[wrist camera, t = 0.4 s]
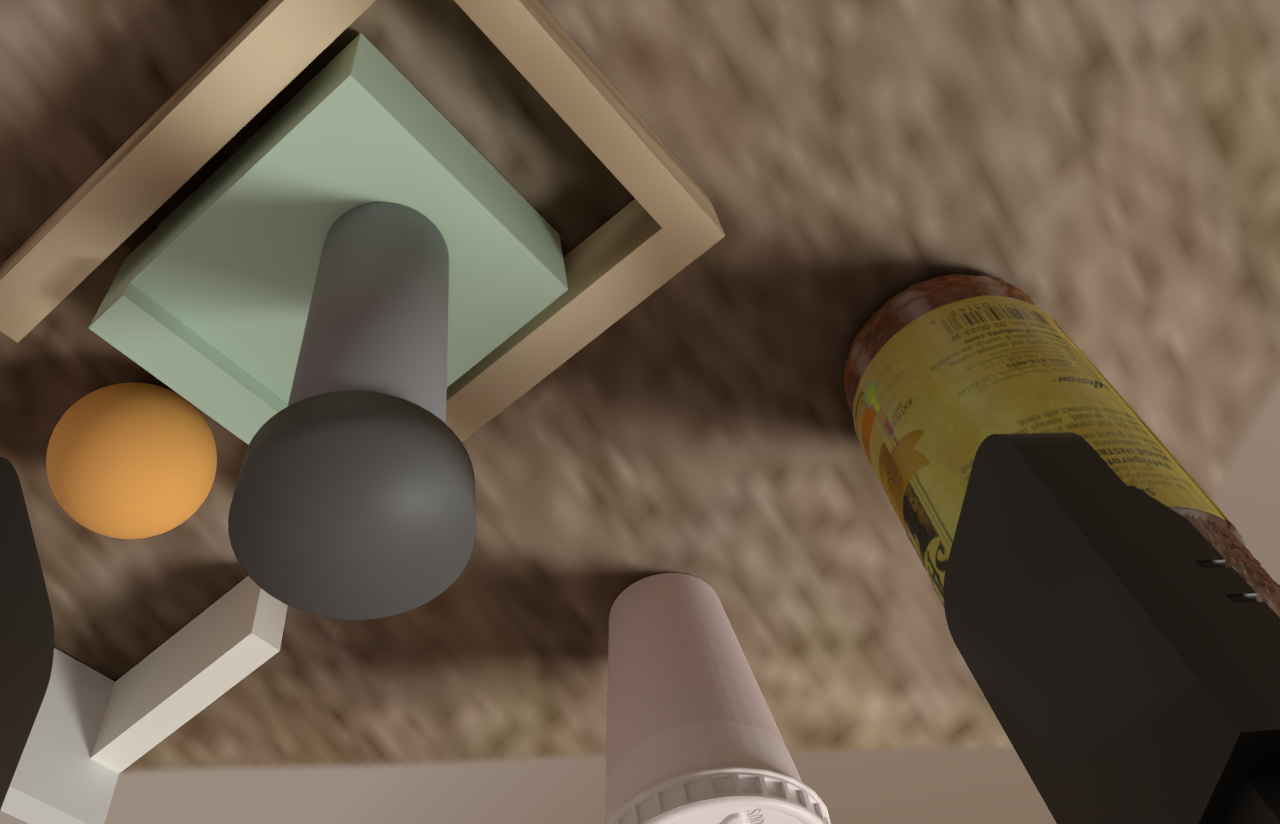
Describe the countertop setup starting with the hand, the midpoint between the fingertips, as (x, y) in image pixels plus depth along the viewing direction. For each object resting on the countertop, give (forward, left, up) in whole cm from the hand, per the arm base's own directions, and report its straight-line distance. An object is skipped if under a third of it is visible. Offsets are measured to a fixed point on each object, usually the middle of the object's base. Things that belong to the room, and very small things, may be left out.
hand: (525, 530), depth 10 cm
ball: (+15, +3, -18) cm, 23 cm away
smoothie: (+9, +19, -20) cm, 29 cm away
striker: (+7, +3, -19) cm, 21 cm away
